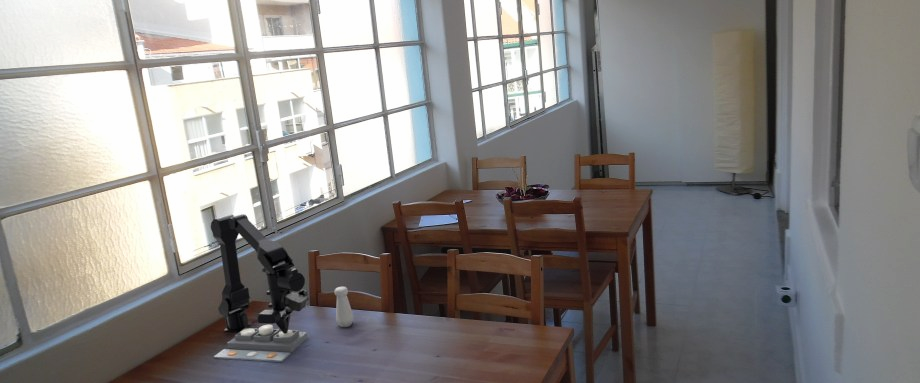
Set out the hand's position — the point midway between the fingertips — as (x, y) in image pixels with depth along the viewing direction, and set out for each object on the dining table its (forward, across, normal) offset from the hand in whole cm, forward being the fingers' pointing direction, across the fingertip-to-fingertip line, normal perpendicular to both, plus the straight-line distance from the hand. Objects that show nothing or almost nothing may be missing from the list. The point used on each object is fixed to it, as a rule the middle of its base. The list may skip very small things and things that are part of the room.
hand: (285, 333), depth 217 cm
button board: (+4, 0, +7) cm, 8 cm away
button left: (+2, 0, +14) cm, 14 cm away
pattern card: (+4, -9, +7) cm, 12 cm away
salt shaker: (+4, +16, -13) cm, 21 cm away
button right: (+2, 0, 0) cm, 2 cm away
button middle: (0, 0, +7) cm, 7 cm away
